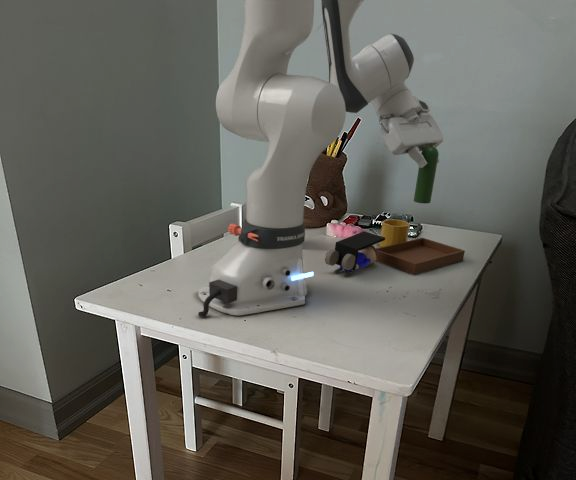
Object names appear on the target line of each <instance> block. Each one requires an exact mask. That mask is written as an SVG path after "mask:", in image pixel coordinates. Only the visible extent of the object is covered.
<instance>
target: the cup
mask: <svg viewBox="0 0 576 480" xmlns="http://www.w3.org/2000/svg"><path fill="white" fill-rule="evenodd" d="M410 225H411V224H410V223H409V222H408V221H405V220H401V219H384V220H382V222H381V228H380V235H379V236H382V237H385V240H384V241H381V242H379V247H384V246H388V245H393V244H397V243H401V242H406V241H408V240H409V232H410Z"/></svg>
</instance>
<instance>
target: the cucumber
mask: <svg viewBox="0 0 576 480" xmlns="http://www.w3.org/2000/svg"><path fill="white" fill-rule="evenodd" d="M433 144H434V143H431V142H430V144H429V146H428V147H426V148H424V149H423V151H420V153H421V154H422V155H423V156H424V157H426V158H427V160H428V162H429V164H428V165H427V166H426V167H424V168H420V167H419V166H418V169H417V176H416V183H415V189H414V196H413V202H414V203H417V204H431V201H432V196H433V190H434V183H435V178H436V173H437V167H438V163H437V162H438V158H439V156H440V155H439V150H438V148H437V147H436V148H435V147H433Z"/></svg>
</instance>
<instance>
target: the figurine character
mask: <svg viewBox="0 0 576 480" xmlns="http://www.w3.org/2000/svg"><path fill="white" fill-rule="evenodd" d="M384 240H385V237H382V236H380V235H379V234H375V233H372V232H369V231H365V230H363V231H360V232H359V233H356V234H353V235H351V236H348V237H345V238H343V239H340V240H338V241H335V245H334V249H329V250H328V251H327V252H326V253H325V257H324V262H325V264H326V265H327V266H331V267H332V266H335V265H337V266H339V268H336V269H335V270H334V271H333V274H338V273H340V272H341V271H345V272H347V273H345V274H344V275H343V276H344V277H348V276H350V275H351V274H353V273H354V271H356V269H357V270H358V269H360V268H364V267H368V266H373V264H375V263H376V262H377V261H376V260H377V257H378V252H377V250H376V248H377V247H375V246H374V245H377V244H378V243H379V244H380V242H381V241H384Z"/></svg>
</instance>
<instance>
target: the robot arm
mask: <svg viewBox="0 0 576 480" xmlns="http://www.w3.org/2000/svg"><path fill="white" fill-rule="evenodd" d="M364 1H365V0H321V1H320V2H321V15H322V22H323V23H322V24H323V30H324V38H325V39H324V40H325V46H326V54H327V62H328V81H326V80H324V79H320V78H318V77H315V76H310V75H301V74H300V75H298V74H288V68H289V63H290V60H291V57H292V55H293V54H294V52H295V50H296V48H297V47H298V46H300V45H302V44H303V43H304V42H305V41H307V39H309V37H310V35H311V33H312V31H313V27H314V16H315V15H314V12H315V11H314V10H315V0H244V22H243V23H244V24H243V33H242V39H241V44H240V48H239V51H238V54H237V58H236V60H235V62H234V66H233V67H232V69H231V71H230V73H229V74H228V75H227V77H225V78H224V79H223V80H222V82H221V83H220V85H219V87H218V88H217V93H216V96H215V111H216V115H217V118H218V121H219V123H220V124H221V126H222V127H223V128H224V129H225V130H227V131H228V132H230V133H232V134H234V135H236V136H239V137H241V138H243V139H246V140H250V141H256V142H264V143H268V150H267V154H266V158H265V160H264V163H263V164H262V165H260V166H258V167H256V168H255V169H254V170H253V171H252V172H251V173H250V174H249V175H248V177H247V179H246V184H245V185H246V186H245V187H246V188H245V189H246V190H245V191H246V192H245V193H246V196H245V197H246V198H245V200H246V201H245V203H246V204H245V207H246V208H245V219H244V221H243V223H242V226H241V225H239V224H236V223H232V222H231V223H230V224H229V225H228V227H227V230H228V231H227V232H228V233H229V234H230V235H233V236H234V237H235V236H236V237H238V238H237V239H238V241H237V242H236V243H235V244H234V245H233V246H232V247H231V248H230V249H228V250H227V251H226V252H225V254H223V255H222V256H221V257H220V258H219V259H218V260H216V262H215V263H214V264H213V265H212V268H211V271H210V277H209V282H208V285H206V286H203V287H201V288H199V289H198V298H199V299H200V301H201V302H203V310H202V311H198V313H197V315H198V317H200V318H204V317H206V316H208V314H209V311H210V308H212V309H214V310H216V311H218V312H221V313H223V314H228V315H231V316H235V317H236V316H238V317H239V316H246V315H253V314H258V313H263V312H268V311H269V312H270V311H274V310H275V311H276V310H281V309H286V308H292V307H298V306H303V305H305V304H306V296H307V294H308V289H307V284H306V280H305V278H310V277H314V271H309V272H306V273H305V271H304V257H303V256H304V255H303V243H304V242H305V239H306V237H305V236H306V222H305V221H304V215H305V202H306V194H307V187H308V186H307V185H308V181H309V177H310V174H311V171H312V169H313V167H314V164H315V163H316V161H317V159H318V158H319V156H320V155H321V154H322V153H323V151H325V150H326V149H327V148H328V147H329V146H331V145H332V144H333V143H334V142H335V141H336V140H337V139H338V138H339V136H340V135H341V133H342V131H343V128H344V126H345V122H346V116H347V115H346V114H347V113H351V114H357V113H359V112H360V111H362V110H363V109H364V108H365V107H367V106H368V105H369V104H371V105H372V106H373V108H374V110H375V114H376V116H377V117H378V119H379V121H378V124H379V125H380V133H381V136H382V138H383V140H384V142H385V144H386V146H387V148H388V150H389V152H390V153H391V154H392V155H394V156H400V155H407V154H408V156H409V158H411V160H413V161H414V162H415V163H416V164H417V165H418V168H419V167H420V168H424V167H426V166H427V165H428V164H429V162H428V160H427V158H426V157H424V156H423V155H422V154H421V152H422V151H423V149H424V148H426V147H428V146H429V144H430V142H431V143H434V144H433V147H435V148H436V149H437V147H439V146H440V145H441V143H443V142H444V135H443V132H442V130H441V128H440V127H439V124H438V123H437V122H436V119H435V118H434V116H433V115H432V114H431V113H430V111H431V108H430V106H429V104H428V103H427V102H425V101H423V100H420V99H419V98H417V96H415V95H413V93H412V91H411V90H410V88H409V87H408V86H407V85H406V83H405V81H406V80H407V79H408V78H409V76H410V74H411V72H412V69H413V65H414V62H415V57H414V54H413V52H412V49H411V48H410V46H409V44H408V42H407V41H406V39H405V38H404V37H402V36H400V35H398V34H394V33H389V34H387V35H384V36H382V37H381V38H380V39H378V40H376V41H375V42H373V43H371V44H368V45H366V46H365V47H363V48H362V49H361V50H360V51H359V52H358V53H357V54H356V55H354V56H352V50H351V40H350V27H351V23H352V21H353V18H354V16H355V14H356V13H357V11H358V9H359V8H360V7H361V6H362V4H363V2H364ZM439 163H440V158H439V157H438V162H437V164H439Z"/></svg>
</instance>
